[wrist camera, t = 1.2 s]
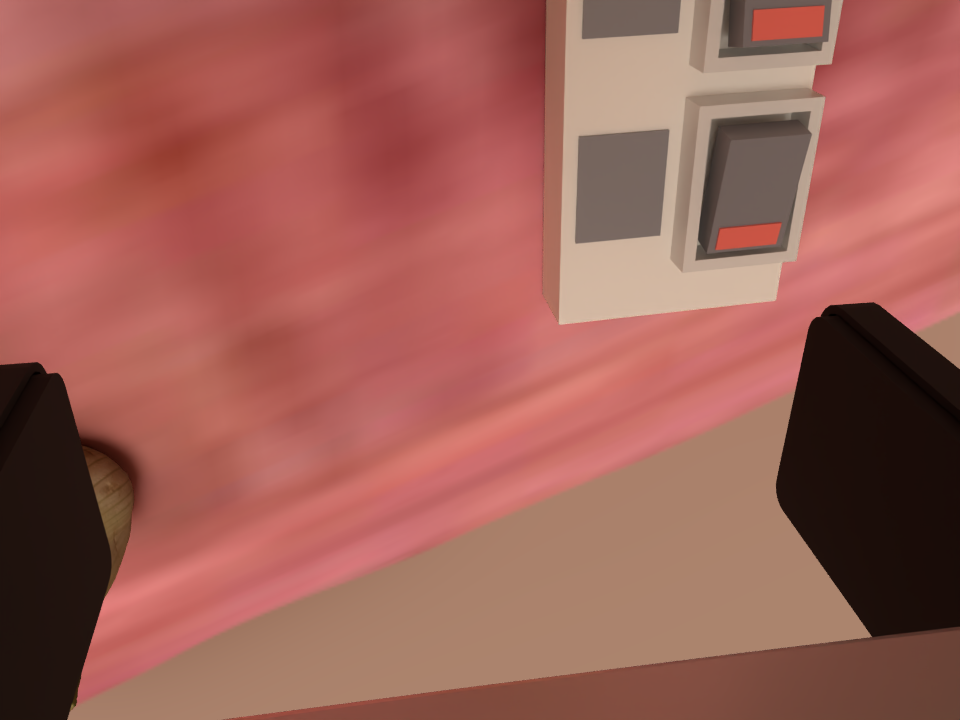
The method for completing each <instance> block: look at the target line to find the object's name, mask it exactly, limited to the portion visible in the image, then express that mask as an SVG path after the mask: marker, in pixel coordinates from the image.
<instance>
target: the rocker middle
mask: <svg viewBox="0 0 960 720" xmlns="http://www.w3.org/2000/svg"><path fill="white" fill-rule="evenodd" d="M831 5H832V0H730V12H729V34H728V47H741V48H744V47H759V46H774V45H788V44H803V43H817V42H828V40H829V28H830V16H831Z"/></svg>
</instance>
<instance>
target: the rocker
mask: <svg viewBox="0 0 960 720" xmlns="http://www.w3.org/2000/svg"><path fill="white" fill-rule="evenodd" d="M811 136H812V133H811V132H810V131H809V130H808V129H807V128H806V127H805V126H804V125H803V124H802V123H801V122H800V121H799V120H798V119H797V120H785V121H773V122H760V123H748V124H736V125H723V126H718V131H717V136H716V141H715V146H714V151H713V156H712V161H711V166H710V171H709V176H708V181H707V186H706V191H705V196H704V201H703V206H702V211H701V216H700V223H699V231H698V241H699V243H700V244H701V246H702V247H703V249H704V250H705V252H706V253H707V254H710V253H720V252H730V251H739V250H749V249H759V248H769V247H778V246H781V244H782V240H783V237H784V233H785V230H786V226H787V222H788V219H789V215H790V212H791V208H792V204H793V201H794V197H795V194H796V190H797V186H798V183H799V179H800V176H801V172H802V169H803V165H804V161H805V158H806V154H807V151H808V147H809V143H810V140H811Z"/></svg>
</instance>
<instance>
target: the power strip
mask: <svg viewBox="0 0 960 720" xmlns="http://www.w3.org/2000/svg"><path fill="white" fill-rule="evenodd" d="M842 3H843V0H832V5H831V16H830V28H829V40H828V42H817V43H803V44H788V45H774V46H759V47H744V48H741V47H728V34H729V12H730V0H546V56H545V135H544V214H543V293H542V294H543V296H544V298H545V300H546V301H547V303H548V305H549V307H550V309H551V311H552V313H553V315H554V317H555V318H556V320H557V322H558V324H559V325H561V324H570V323H579V322H588V321H597V320H606V319H615V318H624V317H633V316H642V315H651V314H660V313H669V312H678V311H687V310H696V309H705V308H714V307H723V306H732V305H741V304H750V303H759V302H768V301H776V296H777V290H778V285H779V279H780V273H781V267H782V262H792V261H796V259H797V254H798V248H799V242H800V237H801V231H802V226H803V220H804V215H805V209H806V203H807V198H808V192H809V187H810V181H811V176H812V170H813V165H814V159H815V153H816V148H817V142H818V137H819V131H820V126H821V120H822V114H823V109H824V103H825V98H826V97H825V96H823V95H821V94H819V93H817V92H815V91H813V90H812V85H813V79H814V74H815V68H816V65H825V64H832V59H833V53H834V48H835V42H836V36H837V31H838V25H839V20H840V14H841V9H842ZM797 119H798V120H799V121H800V122H801V123H802V124H803V125H804V126H805V127H806V128H807V129H808V130H809V131H810V132H811V133H812V136H811V140H810V143H809V147H808V151H807V154H806V158H805V161H804V165H803V169H802V172H801V176H800V179H799V183H798V186H797V190H796V194H795V197H794V201H793V204H792V208H791V212H790V215H789V219H788V222H787V226H786V230H785V233H784V237H783V240H782V244H781V246H778V247H769V248H759V249H749V250H739V251H730V252H720V253H710V254H707V253H706V252H705V250H704V249H703V247H702V246H701V244H700V243H699V241H698V231H699V223H700V216H701V211H702V206H703V201H704V196H705V191H706V186H707V181H708V176H709V171H710V166H711V161H712V156H713V151H714V146H715V141H716V136H717V131H718V126H723V125H736V124H748V123H760V122H773V121H785V120H797Z"/></svg>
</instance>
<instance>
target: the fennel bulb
mask: <svg viewBox="0 0 960 720" xmlns="http://www.w3.org/2000/svg"><path fill="white" fill-rule="evenodd" d="M82 448H83V452H84V455H85V459H86V462H87V466H88V470H89V473H90V477H91V480H92V484H93V488H94V491H95V495H96V498H97V502H98V506H99V509H100V513H101V516H102V520H103V524H104V527H105V531H106V534H107V538H108V542H109V545H110V550H111V558H112V568H111V576H110V580H109V584H108V587H107V590H106V593H105V596H106V595H107V593H108V591H109V589H110V588H111V586H112V584H113V582H114V580H115V578H116V575H117V573H118V570H119V567H120V565H121V562H122V559H123V556H124V553H125V550H126V546H127V543H128V540H129V536H130V531H131V516H132V510H133V505H134V491H133V487H132V483H131V481H130V479H129V476H128V474H127V473H126V472H125V471H124V470H123V469H122V468H121V467H120V466H119V465H118V464H117V463H116V462H114V461H113V460H112V459H110V458H109V457H108V456H106V455H105V454H103V453H101V452H99V451H97V450H94V449H92V448H89V447H86V446H82ZM104 598H105V597H104ZM81 673H82V672H81ZM80 679H81V676H80ZM80 679H79V682H78V686H77V689H76V692H75V696H74V699H73V702H72V705H71V709H70V711H71V710H72V709H73V708H74V707H75V706H76V703H77V696H78V687H79V683H80Z"/></svg>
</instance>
